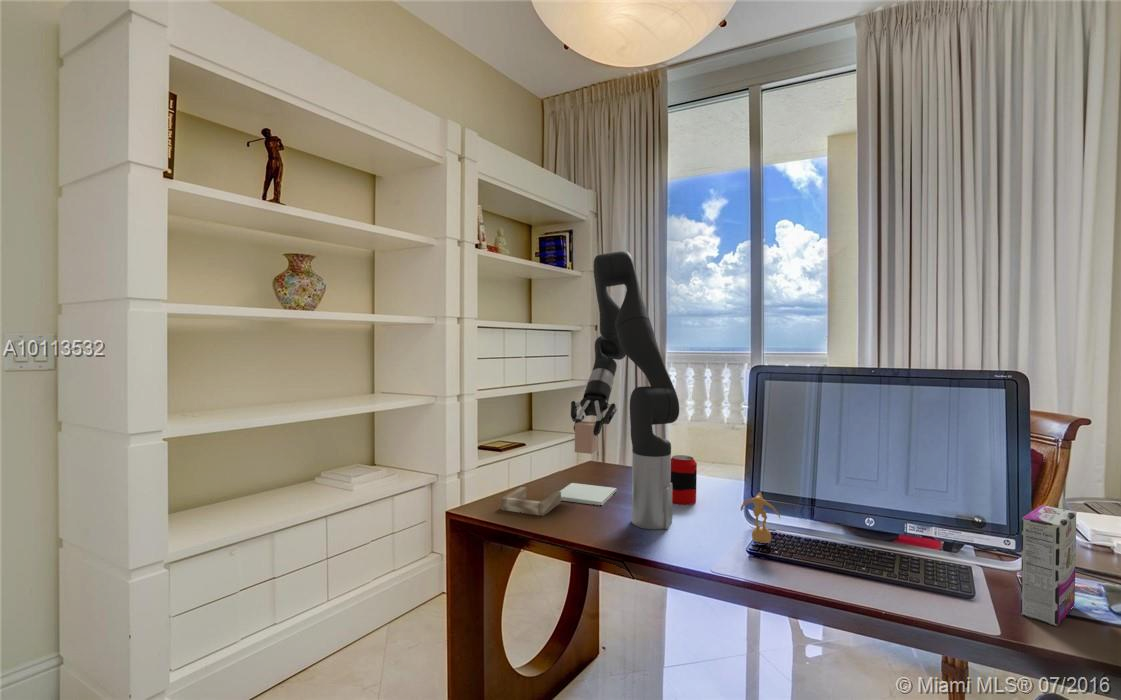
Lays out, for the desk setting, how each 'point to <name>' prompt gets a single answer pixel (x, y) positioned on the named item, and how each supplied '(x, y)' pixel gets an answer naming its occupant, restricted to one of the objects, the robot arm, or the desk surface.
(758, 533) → the figurine
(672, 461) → the soda can
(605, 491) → the sage mat
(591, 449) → the terracotta block
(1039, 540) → the candy bar box
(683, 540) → the desk surface
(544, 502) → the maple bay
